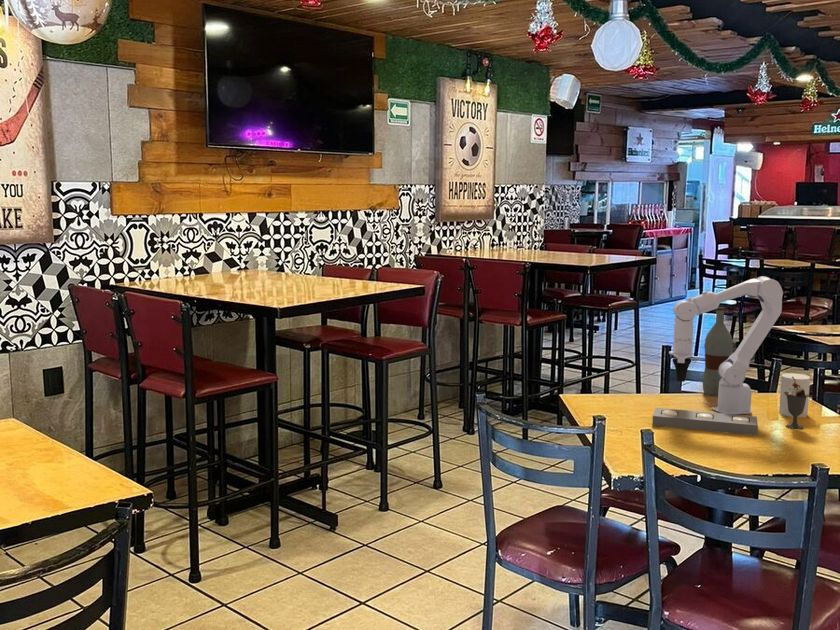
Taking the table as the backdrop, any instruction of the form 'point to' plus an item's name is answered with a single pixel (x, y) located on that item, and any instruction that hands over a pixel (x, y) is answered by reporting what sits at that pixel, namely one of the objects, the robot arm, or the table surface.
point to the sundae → (795, 403)
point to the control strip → (705, 421)
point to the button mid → (704, 416)
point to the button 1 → (669, 413)
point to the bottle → (716, 353)
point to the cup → (785, 386)
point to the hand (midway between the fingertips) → (681, 381)
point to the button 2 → (740, 419)
